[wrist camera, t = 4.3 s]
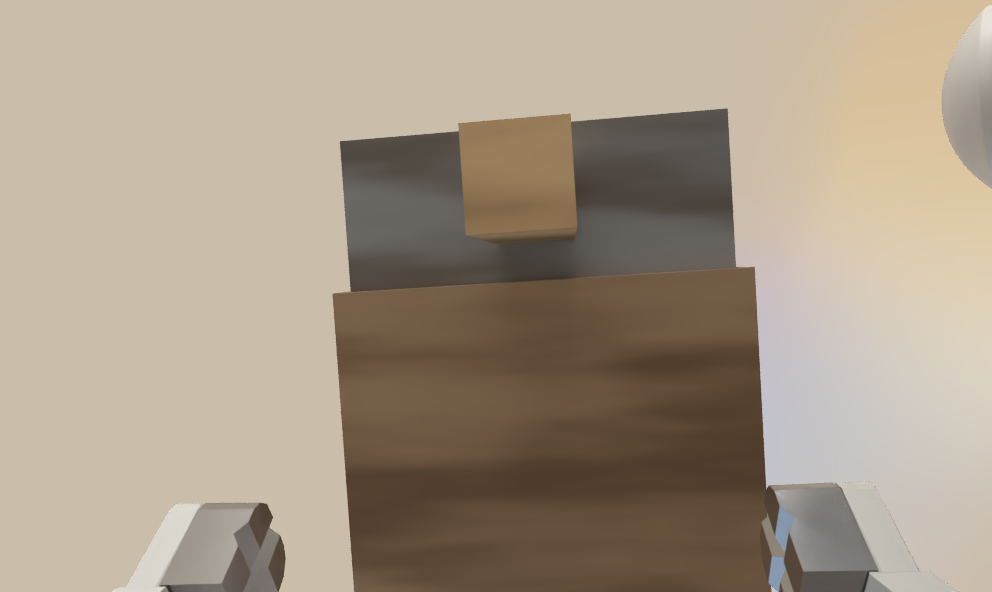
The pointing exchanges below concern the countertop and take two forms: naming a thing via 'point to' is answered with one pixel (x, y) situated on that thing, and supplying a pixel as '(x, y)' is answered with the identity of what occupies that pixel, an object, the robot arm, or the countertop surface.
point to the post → (555, 435)
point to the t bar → (539, 201)
